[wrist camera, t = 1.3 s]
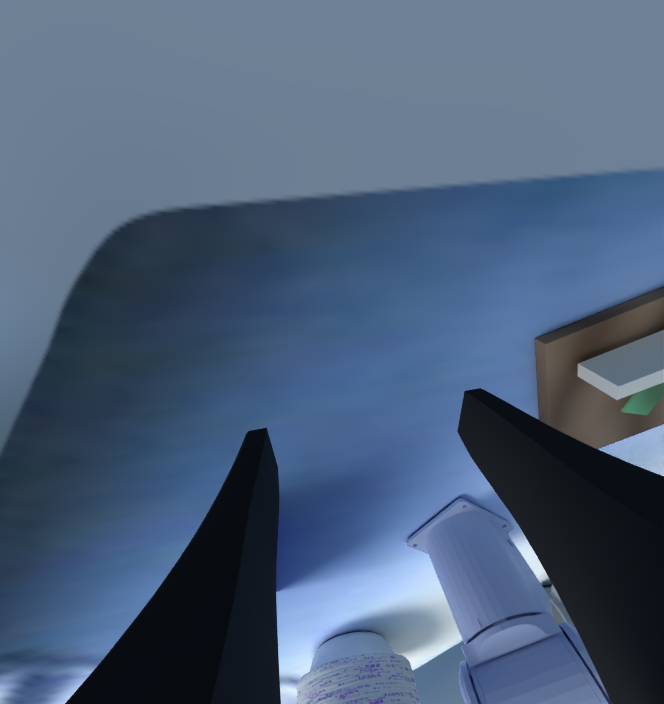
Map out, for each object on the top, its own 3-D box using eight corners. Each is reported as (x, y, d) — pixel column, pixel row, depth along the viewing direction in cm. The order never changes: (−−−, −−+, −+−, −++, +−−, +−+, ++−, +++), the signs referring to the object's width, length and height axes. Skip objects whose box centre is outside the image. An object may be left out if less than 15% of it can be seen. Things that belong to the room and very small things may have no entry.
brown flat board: (780, 239, 21) (806, 241, 20) (727, 388, 27) (745, 395, 26) (535, 338, 22) (547, 345, 21) (541, 458, 28) (550, 468, 27)
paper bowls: (322, 678, 46) (328, 764, 39) (276, 645, 39) (274, 743, 32) (413, 645, 45) (437, 727, 38) (383, 606, 38) (406, 698, 31)
